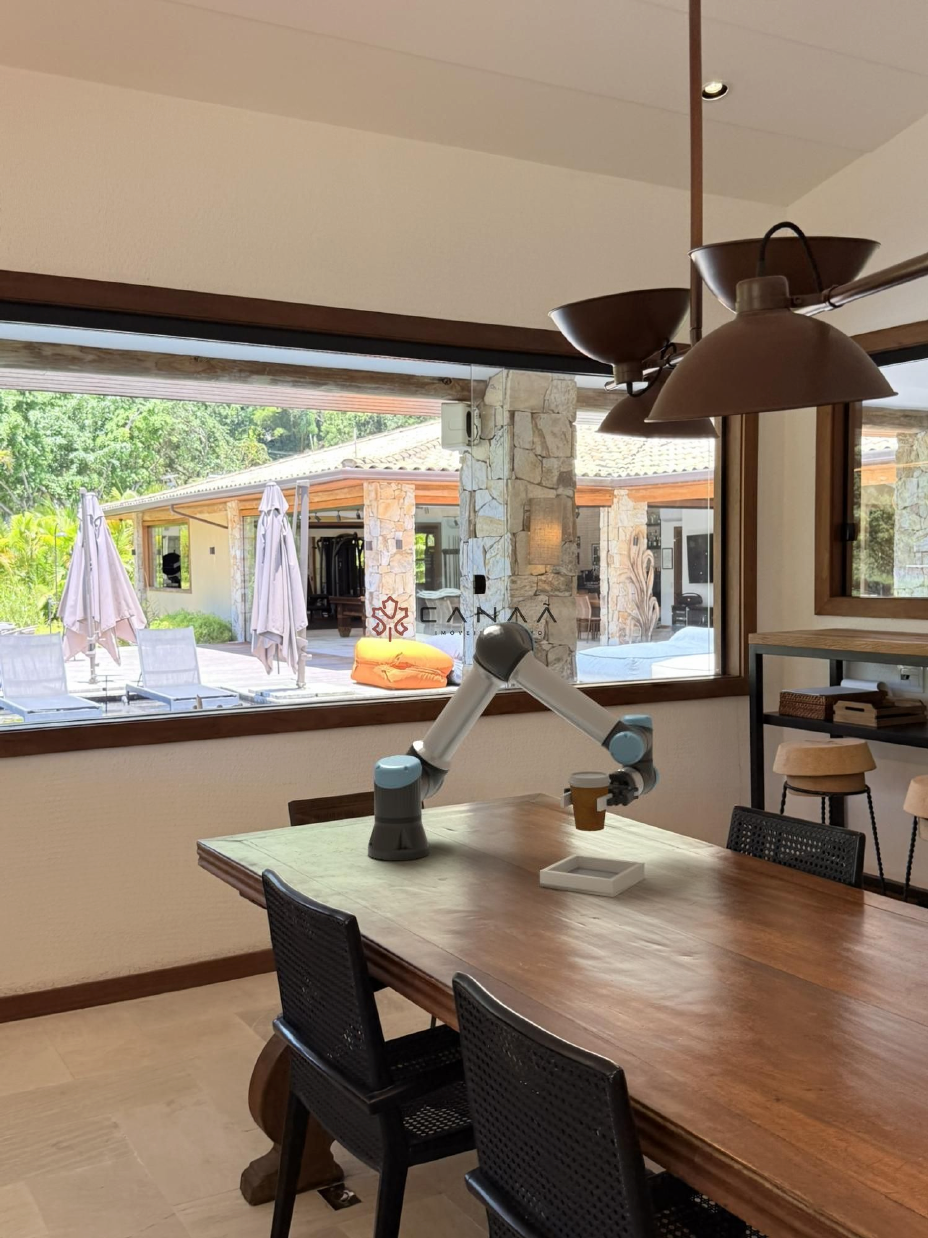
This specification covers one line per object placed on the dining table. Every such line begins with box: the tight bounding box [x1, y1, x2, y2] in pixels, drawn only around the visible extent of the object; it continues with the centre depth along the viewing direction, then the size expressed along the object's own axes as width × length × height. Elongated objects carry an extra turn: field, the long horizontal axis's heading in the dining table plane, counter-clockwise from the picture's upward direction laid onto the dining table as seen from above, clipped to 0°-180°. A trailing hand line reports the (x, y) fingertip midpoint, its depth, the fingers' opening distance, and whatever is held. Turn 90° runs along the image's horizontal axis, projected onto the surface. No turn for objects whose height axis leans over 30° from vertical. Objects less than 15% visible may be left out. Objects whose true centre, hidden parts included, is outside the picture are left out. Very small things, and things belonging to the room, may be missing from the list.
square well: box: [539, 853, 646, 898], centre depth 257 cm, size 17×17×4 cm
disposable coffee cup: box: [567, 771, 611, 832], centre depth 257 cm, size 10×10×12 cm
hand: (580, 803), depth 253 cm, fingers closed on disposable coffee cup, 8 cm apart
